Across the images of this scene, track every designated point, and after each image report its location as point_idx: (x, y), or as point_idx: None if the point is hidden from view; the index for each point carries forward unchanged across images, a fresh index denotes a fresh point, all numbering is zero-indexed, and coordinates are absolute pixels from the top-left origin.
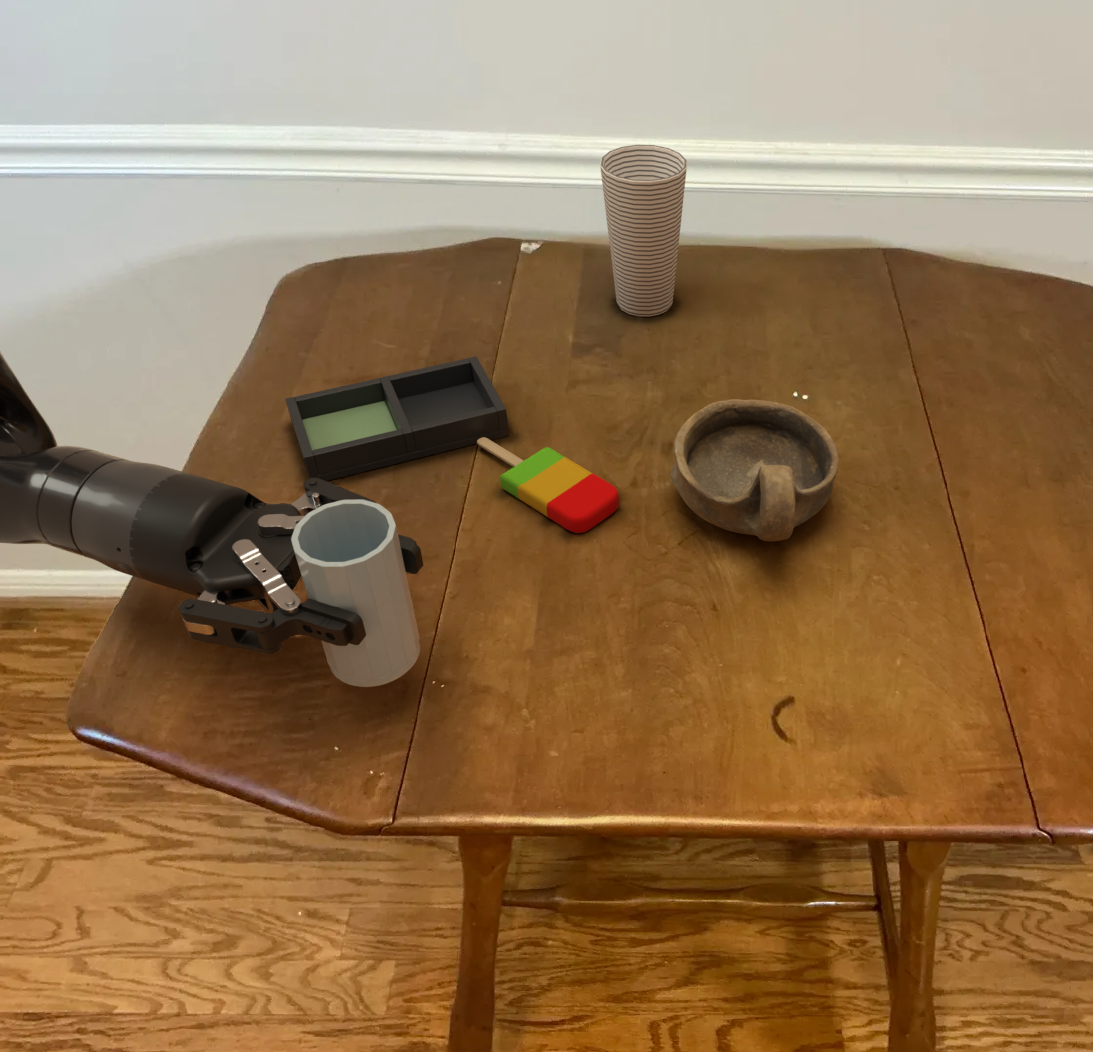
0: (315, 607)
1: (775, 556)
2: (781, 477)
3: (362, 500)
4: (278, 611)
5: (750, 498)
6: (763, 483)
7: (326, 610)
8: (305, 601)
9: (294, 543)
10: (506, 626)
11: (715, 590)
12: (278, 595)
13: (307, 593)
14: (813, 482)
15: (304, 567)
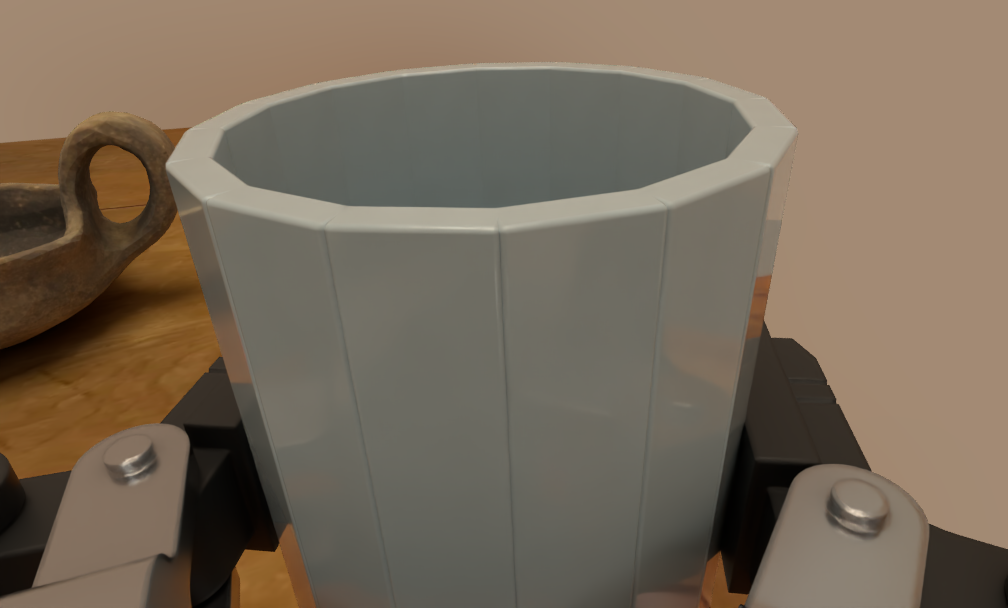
0: (785, 410)
1: (142, 297)
2: (120, 113)
3: (195, 129)
4: (926, 601)
5: (85, 212)
6: (121, 127)
7: (766, 376)
8: (781, 464)
9: (704, 181)
10: (254, 583)
11: (202, 333)
12: (866, 598)
13: (720, 489)
14: (18, 247)
15: (774, 228)
